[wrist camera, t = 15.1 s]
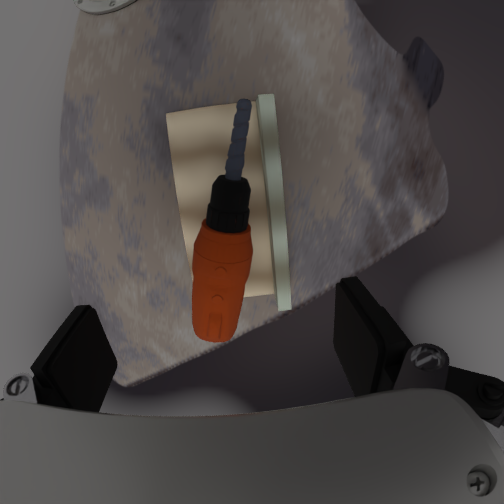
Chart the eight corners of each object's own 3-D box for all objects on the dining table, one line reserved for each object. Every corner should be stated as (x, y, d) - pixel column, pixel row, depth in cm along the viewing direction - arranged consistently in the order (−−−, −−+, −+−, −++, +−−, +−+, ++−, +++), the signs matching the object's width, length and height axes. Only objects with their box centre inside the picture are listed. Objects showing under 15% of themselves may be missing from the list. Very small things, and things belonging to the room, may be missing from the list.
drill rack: (169, 115, 29) (155, 109, 24) (268, 102, 29) (276, 93, 24) (198, 294, 37) (192, 320, 32) (285, 284, 37) (293, 309, 32)
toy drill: (268, 106, 26) (294, 105, 13) (241, 271, 35) (241, 370, 22) (219, 99, 26) (196, 91, 13) (200, 266, 35) (179, 363, 21)
